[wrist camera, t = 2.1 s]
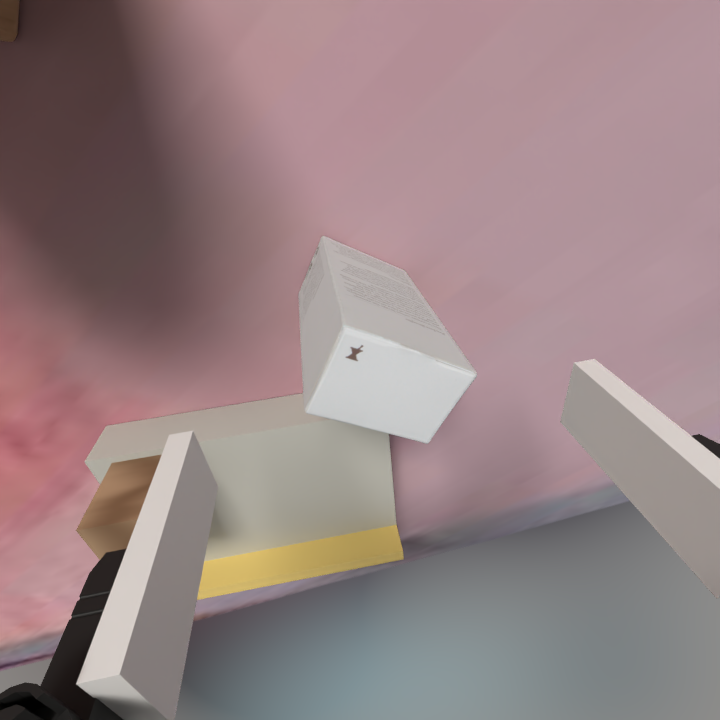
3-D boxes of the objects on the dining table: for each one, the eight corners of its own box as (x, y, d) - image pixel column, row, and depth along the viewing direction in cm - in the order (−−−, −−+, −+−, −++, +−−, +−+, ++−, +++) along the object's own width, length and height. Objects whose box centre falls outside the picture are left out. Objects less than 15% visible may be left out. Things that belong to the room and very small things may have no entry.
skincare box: (296, 295, 25) (297, 414, 15) (321, 232, 23) (342, 321, 13) (379, 325, 27) (429, 448, 17) (408, 270, 25) (483, 371, 15)
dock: (377, 380, 30) (394, 433, 25) (389, 500, 37) (403, 559, 32) (106, 425, 28) (66, 491, 23) (174, 540, 36) (155, 608, 31)
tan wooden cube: (188, 449, 26) (168, 513, 22) (211, 498, 29) (197, 563, 25) (111, 463, 26) (76, 530, 22) (141, 510, 29) (115, 579, 24)
